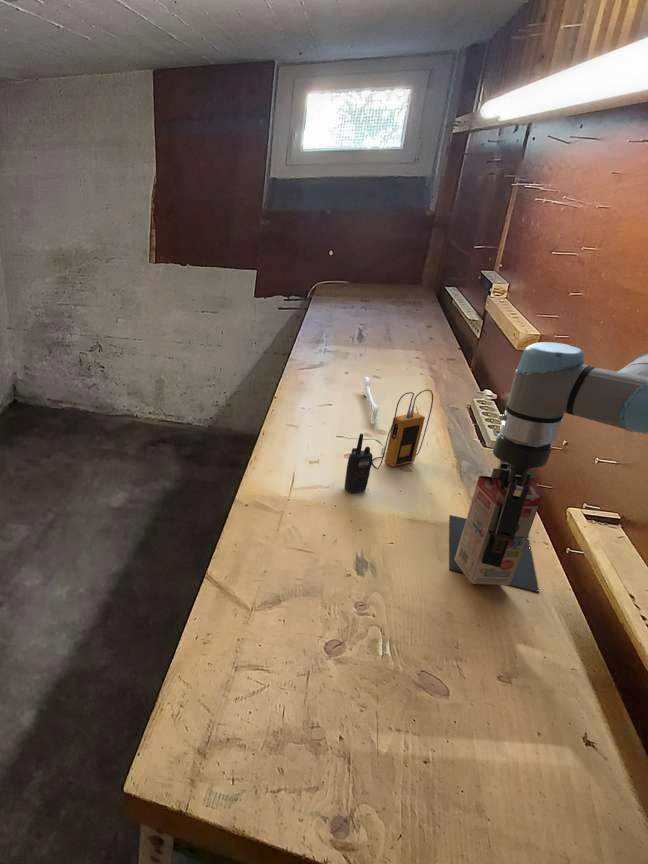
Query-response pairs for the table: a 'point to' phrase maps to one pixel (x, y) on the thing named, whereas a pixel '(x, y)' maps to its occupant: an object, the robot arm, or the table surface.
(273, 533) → the table surface
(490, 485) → the juice carton
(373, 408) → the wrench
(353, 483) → the two-way radio
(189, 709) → the table surface
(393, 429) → the multimeter
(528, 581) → the edge mat
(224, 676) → the table surface
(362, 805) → the table surface
